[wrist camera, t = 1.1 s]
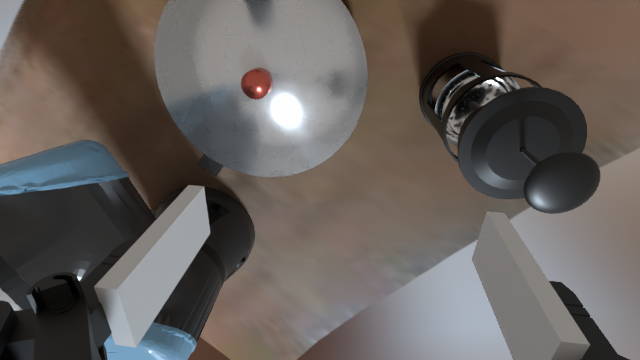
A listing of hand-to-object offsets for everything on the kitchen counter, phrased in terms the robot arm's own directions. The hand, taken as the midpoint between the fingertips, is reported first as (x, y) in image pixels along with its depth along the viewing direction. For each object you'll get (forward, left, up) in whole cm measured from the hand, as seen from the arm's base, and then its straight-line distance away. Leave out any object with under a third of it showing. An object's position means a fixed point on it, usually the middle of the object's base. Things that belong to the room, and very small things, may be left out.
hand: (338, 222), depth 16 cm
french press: (+12, -5, -29) cm, 32 cm away
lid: (-6, +8, -18) cm, 21 cm away
